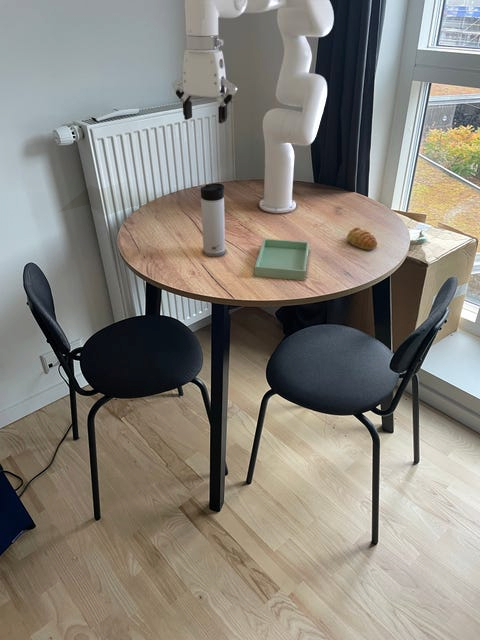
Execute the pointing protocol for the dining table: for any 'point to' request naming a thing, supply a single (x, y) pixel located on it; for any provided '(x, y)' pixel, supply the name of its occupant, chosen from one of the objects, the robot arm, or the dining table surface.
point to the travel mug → (213, 219)
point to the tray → (282, 259)
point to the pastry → (362, 239)
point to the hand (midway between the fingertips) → (205, 120)
